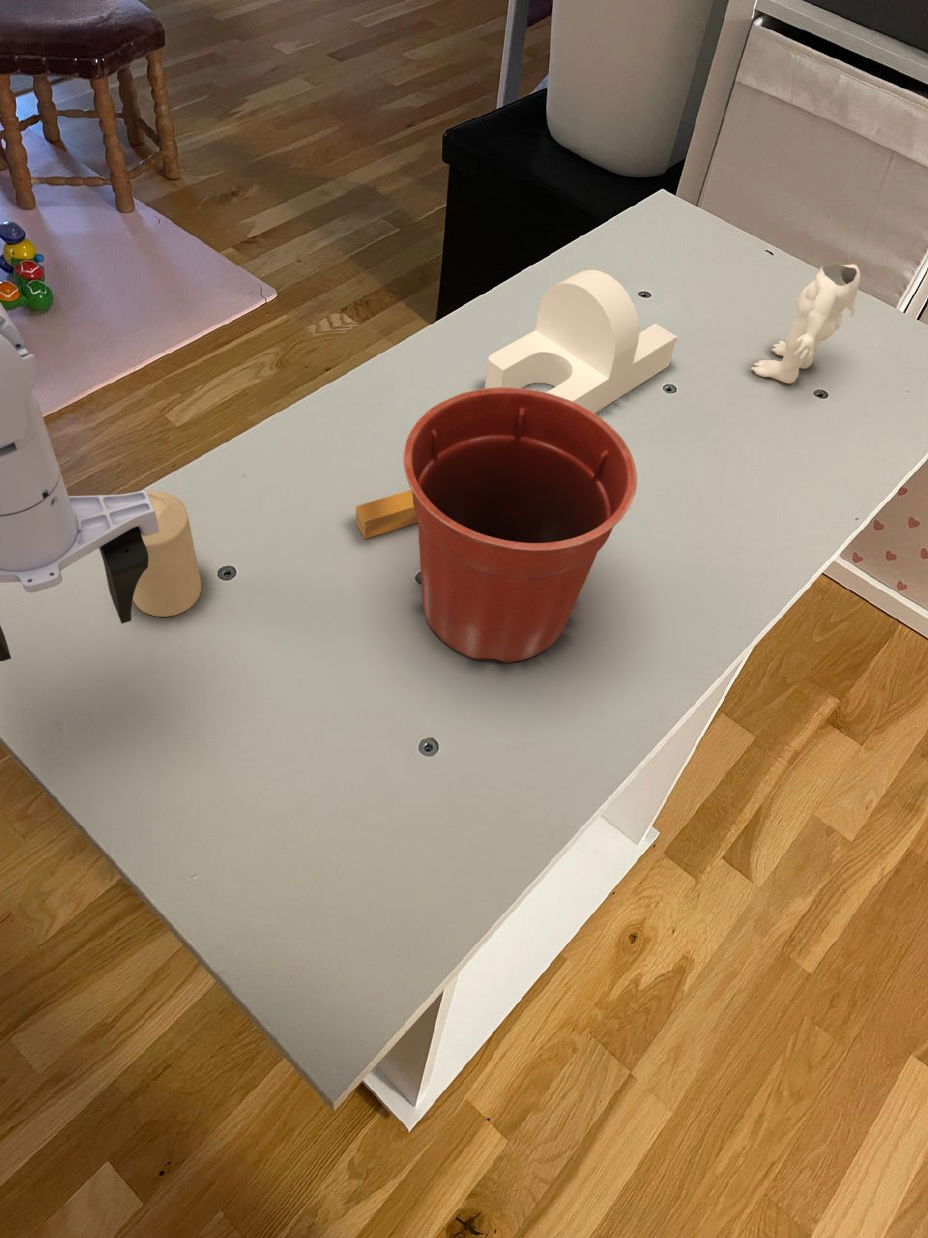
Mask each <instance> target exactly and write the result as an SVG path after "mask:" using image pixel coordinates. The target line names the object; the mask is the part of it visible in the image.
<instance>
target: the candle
mask: <svg viewBox="0 0 928 1238" xmlns="http://www.w3.org/2000/svg"><path fill="white" fill-rule="evenodd" d="M146 492H147V494H148V496H149V498H150V501H151V503H152V505H153V507H154V510H155V514H156V518H157V522H158V526H159V532H158V533H154V534H151V535H147V536H143V535H142V534H141V535H142V539H143V541H144V544H145V546H146V548H147V552H148V568H147V569H146V570H145V571H144V572H143V574H142V576H141V577H140V579H139V581H138V583H137V586H136V588H135V592H134V596H133V600H132V602H133V603H134V604H135V605H136V607H137V609H139V610H141V611H142V612H143V613H145V614H147V615H149V616H154V617H159V618H164V617H174V616H177V615H180V614H183V613H184V612H186V611H188V610H189V609H191V608H192V607H193V606H194V605H195V604H196V603H197V601H198V600H199V599H200V596H201V593H202V580H201V574H200V569H199V564H198V560H197V554H196V550H195V544H194V538H193V534H192V529H191V524H190V519H189V514H188V510H187V507H186V505H185V504H184V503H183V502H182V501H181V499H180V498H178V497H177V496H174V495H173V494H171V493H167V492H163V491H156V490H154V491H153V490H152V491H151V490H150V491H148V490H146Z"/></svg>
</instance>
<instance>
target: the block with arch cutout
mask: <svg viewBox="0 0 928 1238" xmlns="http://www.w3.org/2000/svg"><path fill="white" fill-rule="evenodd" d="M540 300H541V301H540V303H539V308H538V312H537V318H536V323H535V324H536V325H535V329H534V330H533V331H531V332H529V333H528V334H526V335H524V336H522V337H520V338H519V339H517V340H515V341H513V342H511V343H509V344H508V345H506V346H504V347H502V348H500V349H498V350H497V351H495V352H493V353H491V354H490V355H488V358H487V365H486V366H487V367H486V374H485V381H484V383H485V384H484V389H485V388H497V387H510V388H522V389H523V388H524V387H526V386H528V385H531V384H547V385H550V386H553V388H550V390H548V391H546V392H545V393H549V394H553V395H556V396H559V397H562V398H565V399H567V400H570V401H572V402H574V403H576V404H579V405H581V406H583V407H584V408H586V409H588V410H590V411H591V412H593V413H594V414H597V413H598V412H600V411H601V410H602V409H604V408H605V407H607V406H608V405H610V404H611V403H613V402H614V401H616V400H618V399H619V398H621V397H622V396H625V395H626V394H627V393H629V392H631V391H632V390H633V389H635V388H637V387H638V386H640V385H641V384H643V383H644V382H647V381H648V380H649V379H651V378H652V377H654V376H655V375H657V374H658V373H660V372H661V371H664V370H665V369H666V368H668V367H669V365H670V362H671V359H672V355H673V352H674V349H675V346H676V342H677V339H678V336H677V335H675V334H674V333H672V332H670V331H669V330H667V329H665V328H664V327H662V326H660V325H659V324H657V323H656V322H655V323H654V324H652V325H650V326H649V327H647V328H646V329H643V330H642V331H640V323H639V317H638V313H637V310H636V307H635V304H634V302H633V300H632V299H631V297H630V294H629V293H628V291H627V290H626V289H625V288H624V286H623V285H622V284H621V283H620V282H619V281H617V280H616V279H615V278H614V277H613V276H611V275H610V274H608V273H606V272H603V271H601V270H597V269H587V270H583V271H579V272H577V273H575V274H573V275H572V276H570V277H567V278H565V279H564V280H562V281H560V282H558V283H557V284H554V285H553V286H552V287H550V288H548V289H547V290H546V292H545V294H544V295H543V297H542V298H541V299H540Z"/></svg>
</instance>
